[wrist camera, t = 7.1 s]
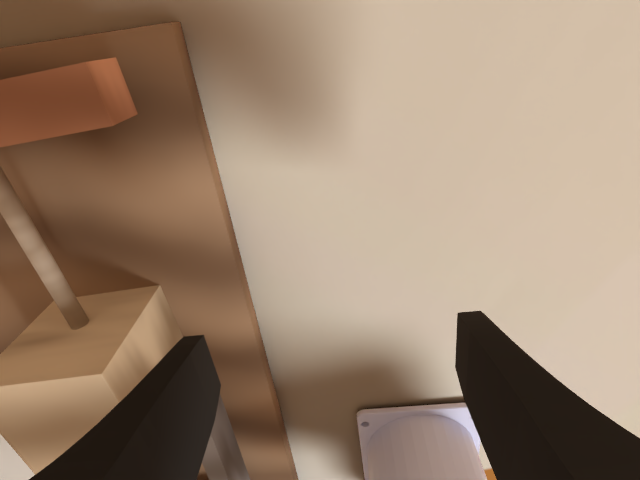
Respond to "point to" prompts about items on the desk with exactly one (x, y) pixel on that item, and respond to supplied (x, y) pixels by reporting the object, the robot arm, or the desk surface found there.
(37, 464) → the block
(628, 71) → the desk surface
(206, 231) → the lane board
